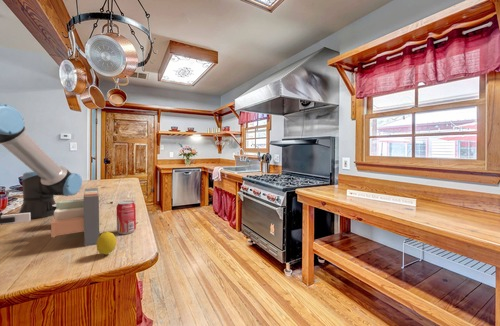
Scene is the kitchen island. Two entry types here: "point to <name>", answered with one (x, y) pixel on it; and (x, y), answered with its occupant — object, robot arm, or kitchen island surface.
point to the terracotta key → (67, 226)
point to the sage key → (70, 204)
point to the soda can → (126, 217)
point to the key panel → (91, 216)
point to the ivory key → (68, 213)
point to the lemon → (106, 243)
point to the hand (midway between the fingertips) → (29, 216)
